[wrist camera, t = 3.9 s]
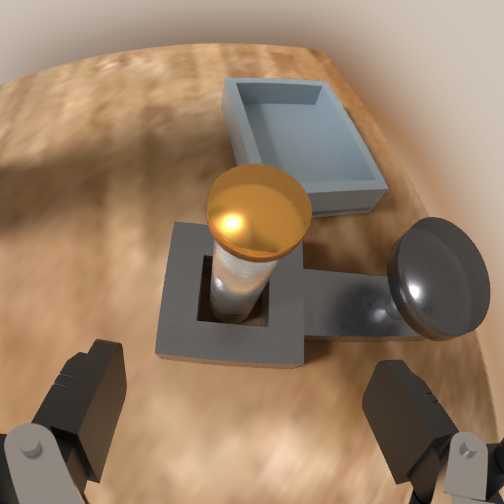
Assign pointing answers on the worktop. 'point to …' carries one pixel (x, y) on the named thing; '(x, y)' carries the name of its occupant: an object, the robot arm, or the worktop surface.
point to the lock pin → (251, 233)
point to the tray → (303, 141)
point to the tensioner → (326, 300)
